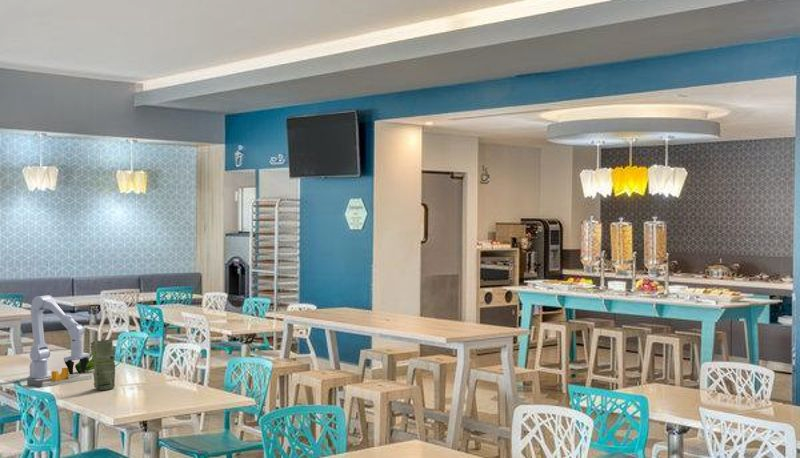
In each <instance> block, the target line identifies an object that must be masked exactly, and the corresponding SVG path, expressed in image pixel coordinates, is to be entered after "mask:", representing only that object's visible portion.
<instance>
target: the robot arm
mask: <svg viewBox="0 0 800 458" xmlns="http://www.w3.org/2000/svg"><path fill="white" fill-rule="evenodd" d="M45 310H50V311H52V313H54V315H55V316H57V317H58V318H59V319H60V323H61V324H62V325H63V326H64V328H66V330H67V332H68V335H69V336H70V337H69V338H70V356H66V357H63V362H64V364H65V366H66V368H69V375H72V374H74V366H75V365H74V364H75V361H76V360H79V361H80V364H81V372H80V373H84V374H85V372H86V371H85V369H86V366H87V363H88V361H90V359H91V358H90V355H89V354H90V353H88V354H83V334H84V333H85V328H84V325H82V324H79V323H78V322H77V321H76V320H75V319H73V316H72V315H70V314H66V313H65V312H64V311H63V309H62V308H61V307H60V306H59V305H58V303H56V299H55V298H54V297H53V296H52V295H50V294H46V295H41V296H39V295H38V296H37V295H36V296H35V297H34V298H33V299H32V300H31V308H30V320H31V328H32V337H33V338H32V339H33V340H32V341H33V343H32V344H31V345H32V346H31V347H30V353H29V358H30V360H31V362H30V363H29V375H28V377H27V378H29V379H35V380H41V379H47V378H52V377H51V375H48V372H49V371H48V360H49V358H50V355H51V350H50V349H49V345H48V344H47V342H45V334H44V333H45V331H44V322H43V312H44V311H45ZM88 358H90V359H88Z"/></svg>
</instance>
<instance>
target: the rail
mask: <svg viewBox="0 0 800 458" xmlns="http://www.w3.org/2000/svg"><path fill="white" fill-rule="evenodd" d="M91 379H93V377H92V375H91V374H90V375H86V376H80V373H73V374H72V375H71V374H69V379H66V380H60V381H54V382H52V377H47V378H41V379H34V378H27V380H26V384H27V386H30V387H31V386H32V387H37V388H45V387H50V386H57V385H62V384H63V385H64V384H67V383H68V384H69V383H73V382H79V381H86V380H91Z"/></svg>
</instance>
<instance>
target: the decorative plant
mask: <svg viewBox="0 0 800 458" xmlns="http://www.w3.org/2000/svg"><path fill="white" fill-rule="evenodd" d="M119 344H120V343H118V344H117V346H115V347H114V348H112V350H113V349H116V347H118V346H119ZM88 354H89V355H90V358H88V359H89V361H88V363H87V366H86V369H85V372H89V371H92V370H93V371H94V368H93V366H92V365H93V359H92V351H91V353H88ZM120 354H121V352H120V353H115V354H114V355H113V357H114V358H115V356H116V355H120ZM121 363H125V361H120V362H118V363H116V364H115V368H116V367H117V366H119V365H120V364H121ZM128 363H131V362H129V361H128ZM74 368H75V370H76V372H77V374H80V373H82V372H81V364H80V360H79V361H78V362H77V363H76V364H75V365H74ZM119 369H120V367H119V368H118V370H119Z"/></svg>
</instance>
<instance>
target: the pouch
mask: <svg viewBox="0 0 800 458" xmlns="http://www.w3.org/2000/svg"><path fill="white" fill-rule="evenodd" d="M113 340H114V338H112V337H110V338H108V339H105V340H104V338H102V339H101V340H94V341H91V342H90V345H91V346H90V351H91V352H92V357H91V359H93V365H92V366H93V368H94V369H93V371H94V372H93V382H94V383H93V386H94V389H97V390H98V391H104V390H105V391H108V390H112V389H113V388H115V386H116V383H115V381H116V380H115V379H116V367H115V365H116V361H115V356H114V355H113V352H112V351H113V348H112V347H113ZM113 356H114V357H113Z"/></svg>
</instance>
